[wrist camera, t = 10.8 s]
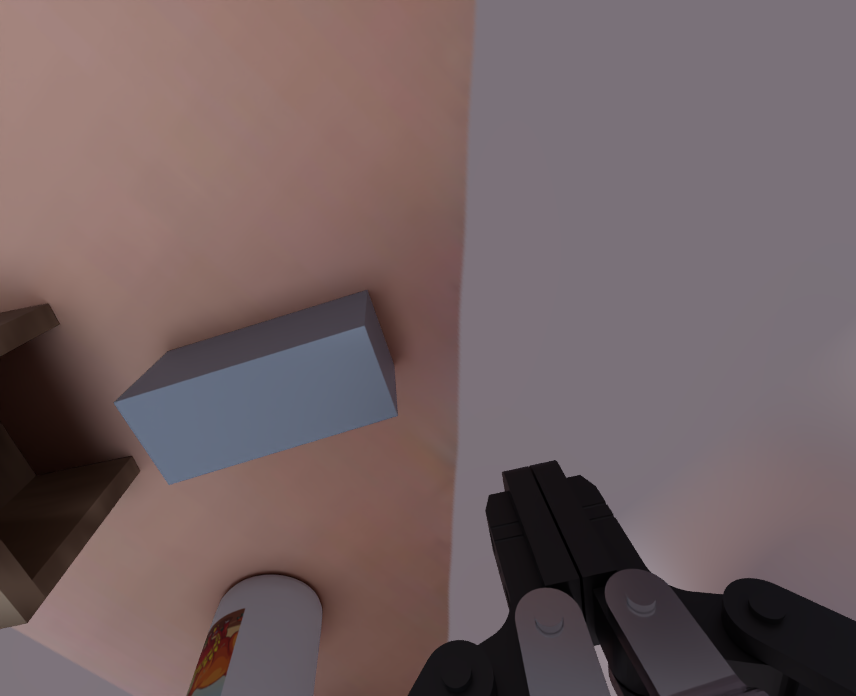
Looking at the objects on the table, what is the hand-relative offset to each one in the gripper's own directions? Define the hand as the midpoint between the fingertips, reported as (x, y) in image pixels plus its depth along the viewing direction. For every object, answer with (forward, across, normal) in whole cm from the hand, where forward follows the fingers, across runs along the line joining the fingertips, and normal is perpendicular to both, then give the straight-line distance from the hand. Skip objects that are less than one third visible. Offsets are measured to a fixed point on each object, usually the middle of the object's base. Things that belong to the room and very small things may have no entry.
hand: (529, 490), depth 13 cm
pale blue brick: (+16, +10, +1) cm, 19 cm away
